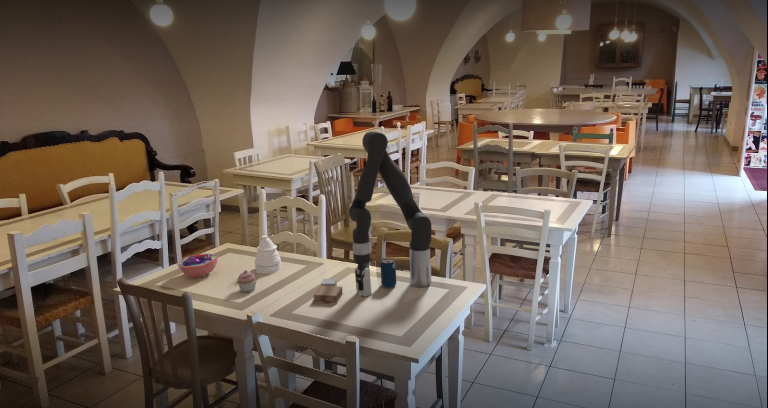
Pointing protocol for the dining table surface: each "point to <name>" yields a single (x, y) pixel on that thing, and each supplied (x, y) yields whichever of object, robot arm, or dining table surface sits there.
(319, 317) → the dining table surface
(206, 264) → the cell model
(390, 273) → the soda can
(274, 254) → the honey pot
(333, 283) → the grey block
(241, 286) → the cupcake
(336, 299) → the walnut block
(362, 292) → the skincare box
